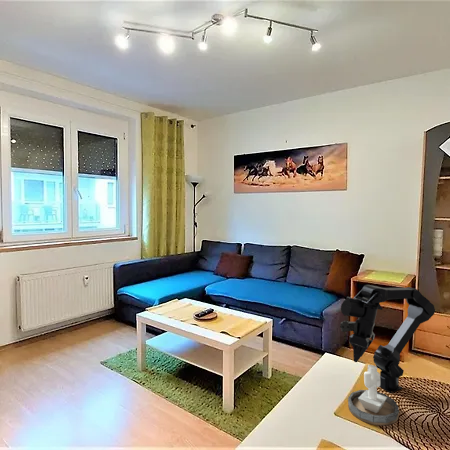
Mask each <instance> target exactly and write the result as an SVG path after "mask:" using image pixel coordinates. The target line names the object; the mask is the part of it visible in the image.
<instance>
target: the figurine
mask: <svg viewBox="0 0 450 450" xmlns="http://www.w3.org/2000/svg"><path fill="white" fill-rule="evenodd" d="M363 381H364V382H363V383H364V386H365V387H366V388H367V389H365V390H366V391H365V392H364V393H363V394H362V395H361V396H360V397H359V398H358V399H359V401H360V402H361V404H362V406H363V407H364V408H365V409H367V410H370V411H372V412H375V413H378V411H379V410H380V409H381V408H382V406H383V404H384V402H385V401H386V399H387V397H385V396H383V395H380V394H377V392H378V388H381V387H380V372H378V368H377V367H376V365H375V364H374V365H373V364H367V370H366V371H364V373H363Z"/></svg>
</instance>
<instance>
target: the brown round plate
mask: <svg viewBox="0 0 450 450" xmlns="http://www.w3.org/2000/svg"><path fill="white" fill-rule="evenodd" d="M358 398H359V397H358ZM358 398H355V399H353V401H352V403H353V405H354V406H355V407H357V408H358V409H359V410H361V411H363V412H366V413H369V414H372V415H383V416H386V415H388V414H391V413H394V411H395V410H394V408H393V406H392V405H390V404H389V403H387V402H384V404H383V406H382V408H381V409H380V410H379V411H378V413H375V412H372V411H370V410H367V409H365V408H364V407H363V406H362V404H361V402H360V401H359V399H358ZM348 410H349V412H350V413H351V414H352V416H353V417H355V418H356V419H357V420H359V421H362V422H364V423H366V424H369V425H373V426H391V425H394V424H395V423H397V421H399V417H400V416H399V414H400V413H399V414H398V417H397V419H396V420H394V421H391V422H389V423H374V422H371V421H368V420H365V419H362V418H360V417H358V416H357V415H356V414H355V413H353V412H352V411H351V410H350V407H349V404H348Z"/></svg>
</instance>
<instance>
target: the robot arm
mask: <svg viewBox="0 0 450 450" xmlns="http://www.w3.org/2000/svg"><path fill="white" fill-rule="evenodd" d="M387 300H405V301H406V303H407V304H408V307H407V316H406V318H405V319H404V321H402V324H401V325H400V327H399V328H398V329H397V331H396V333H395V334H394V335H393V336H392V338H391V340H390V341H389V343H388V344H386V345H384V346H383V345H381V344H380V345H378V347H377V349H376V350H374V354H373V357H372V359H373V363H374V365H375V366H376V367H377V369H378V370H380V372H379V374H380V387H379V388H381V389H383V390H385V391H386V392H388V393H394V392H397V391H401V390H402V389H403V387H402V386H400V384H399V381H400V380H399V379H400V377H402V376H403V375H404V369H403V368H402V367H401V366H400V365H399V364H400V362H401V353H402V351H403V350H404V348H405V347H406V346H407V344H408V342H409V341H410V340H411V338H412V337H413V335H414V334H415V332H416V331H417V329H418V328H419V326H420V325H421V324H423V323H425V322H428V321H429V320H430V319H431V318H432V317H433V316H434V314H435V313H436V309H435V305H434V304H433V303H432V302H431V301H430V300H429V299H428V298H426V296H424V294H422V293H421V291H419V290H418V289H417V288H414V287H411V286H410V287H409V286H407V287H380V286H377V285H373V284H371V285H370V284H364V285H363V287H362V288H361V290H360V291H359V292H358V293H357V294H356V295H355V296H354V297H350V296H347V297H346V299H344V300H343V301H342V303H341V305H340V311H341V313H342V315H344V316H347V317H353V318H357V319H356V320H355V321H348V320H343V321H341V322H340V325H339V328H340V330H341V332H352V334H350V335H349V338H348V342H349V344H350V345H351V347H352V351H353V354H352V355H353V362H354V363H358V361H359V360H360V358H361V357H363V355H364V354H365V352H366V351H367V350H368V349H369V348H370V345H371V344H373V342H374V339H375V336H376V334H375V333H374V331H373V330H374V327H375V325H376V323H375V322H376V318H377V317H376V316H377V313H378V310H381V311H383V310H384V308H383V306H381V304H382V303H385V302H386V301H387ZM380 303H381V304H380Z"/></svg>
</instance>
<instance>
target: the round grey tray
mask: <svg viewBox="0 0 450 450" xmlns="http://www.w3.org/2000/svg"><path fill="white" fill-rule="evenodd" d="M366 390H367V389H360V390H355V391H353V392H351V393H350V394H349V396H348V397H347V402H348V404H349V407H350V410H351V411H352V412H353V413H355V414H356V415H357V416H358V417H360V418H362V419H365V420H368V421H371V422H374V423H389V422H391V421H394V420H396V419H397V417H398V414H400V413H399V412H400V411H399V410H400V408H399V407H400V406H399V405H398V404H397V402H396V400H395V399H393V398H392V397H389V396H388V395H387V394H385V393H382V392H379V391H377V394H380V395H383V396H385V397H387V399H386V401H385V402H387V403H389V404H390V405H392V406H393V408H394V410H395V411H394V413H391V414H388V415H386V416H383V415H372V414H369V413H366V412H363V411H361V410H359V409H358V408H357V407H355V406H354V405H353V403H352V401H353V399H355V398H358V397H360V396H361V395H362V394H363V393H364V392H365V391H366ZM350 410H349V411H350Z"/></svg>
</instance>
